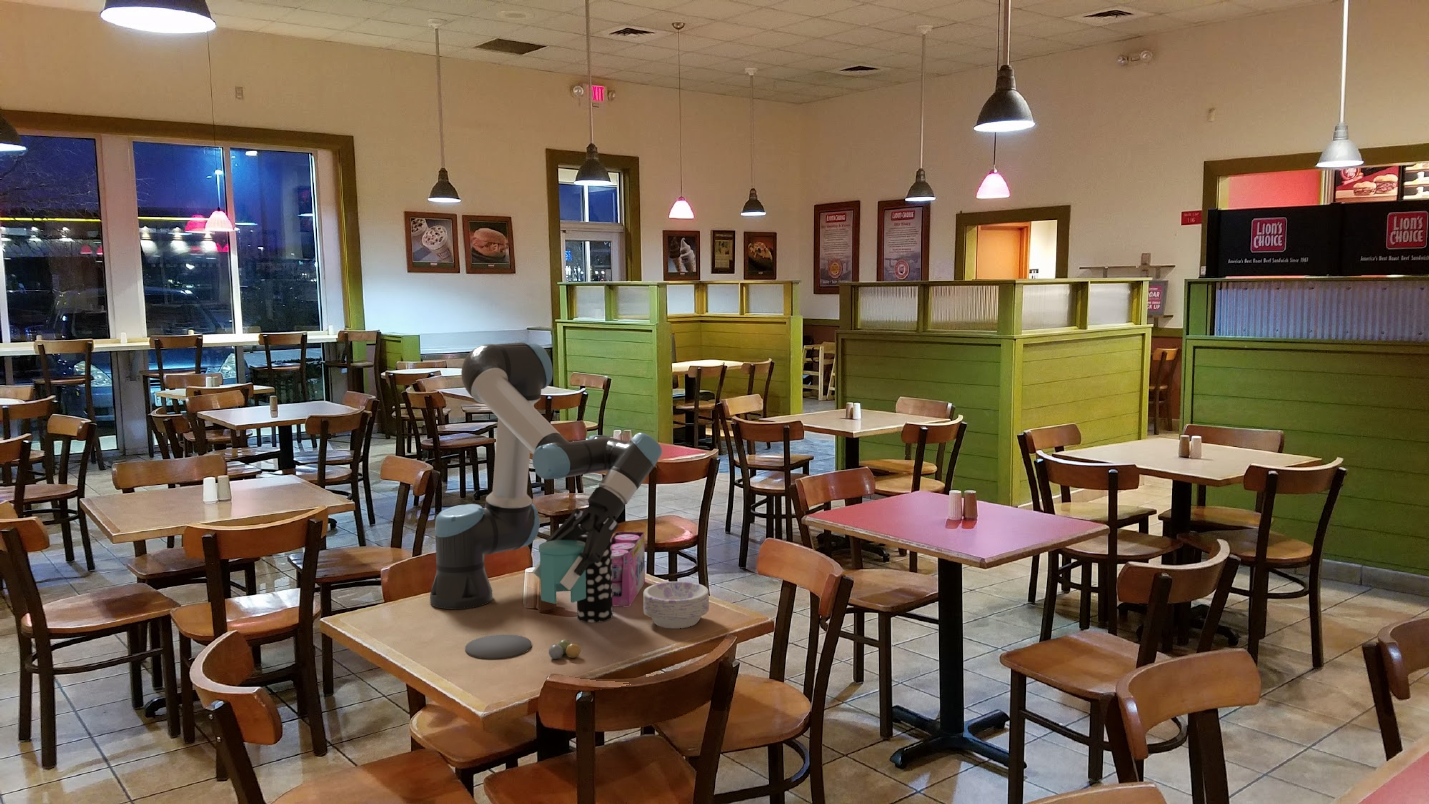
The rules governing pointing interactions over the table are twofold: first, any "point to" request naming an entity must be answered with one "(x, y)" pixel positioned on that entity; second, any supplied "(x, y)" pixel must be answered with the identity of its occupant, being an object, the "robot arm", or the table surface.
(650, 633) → the table surface
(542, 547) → the teal piece
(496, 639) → the coaster
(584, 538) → the spotted tube
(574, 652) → the amber marble
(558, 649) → the grey marble
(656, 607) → the paper bowls
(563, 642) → the olive marble
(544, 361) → the robot arm
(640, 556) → the gum box
